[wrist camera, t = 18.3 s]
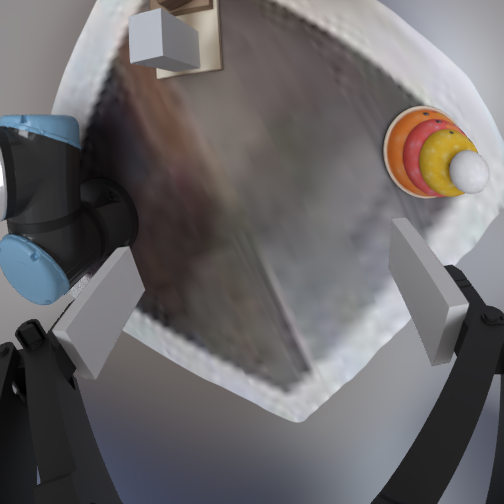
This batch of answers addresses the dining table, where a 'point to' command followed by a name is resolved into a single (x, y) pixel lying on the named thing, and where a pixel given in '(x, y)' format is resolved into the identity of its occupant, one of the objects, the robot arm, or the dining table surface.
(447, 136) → the stacking toy
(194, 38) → the grey pillar
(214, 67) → the base board
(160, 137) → the dining table surface
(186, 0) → the wooden block
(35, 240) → the robot arm
